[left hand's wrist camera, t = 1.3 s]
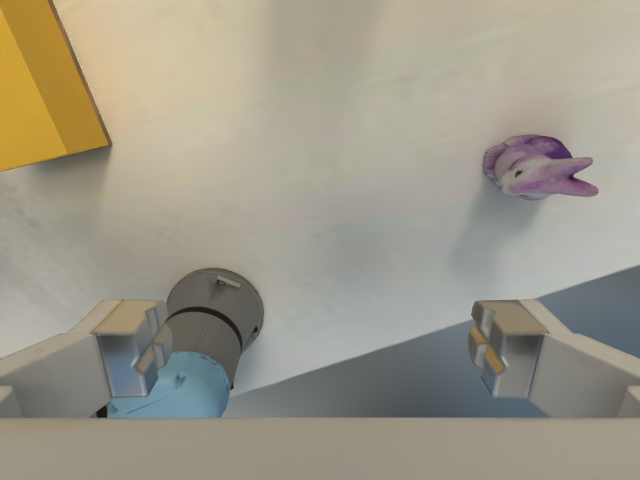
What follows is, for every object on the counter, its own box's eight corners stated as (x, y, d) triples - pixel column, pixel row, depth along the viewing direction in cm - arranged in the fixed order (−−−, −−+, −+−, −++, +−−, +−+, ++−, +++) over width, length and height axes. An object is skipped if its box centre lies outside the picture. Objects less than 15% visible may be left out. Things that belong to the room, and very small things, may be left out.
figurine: (464, 167, 54) (515, 192, 40) (525, 113, 51) (603, 119, 37) (503, 212, 56) (564, 251, 42) (563, 163, 53) (650, 187, 39)
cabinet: (-32, 0, 47) (-120, -25, 37) (42, -23, 46) (-28, -53, 36) (46, 161, 53) (-12, 174, 44) (112, 144, 53) (67, 154, 43)
